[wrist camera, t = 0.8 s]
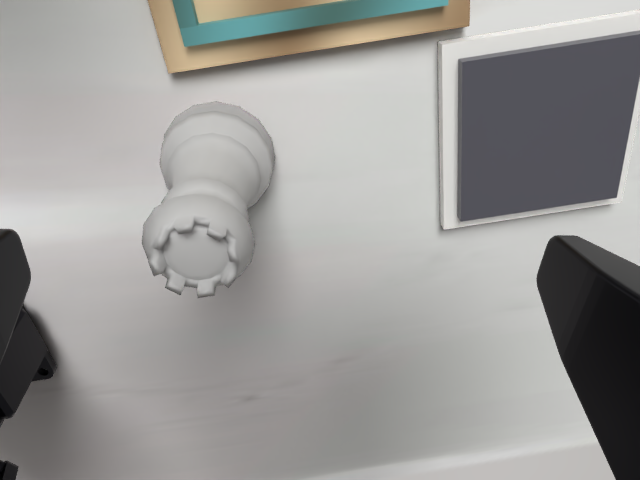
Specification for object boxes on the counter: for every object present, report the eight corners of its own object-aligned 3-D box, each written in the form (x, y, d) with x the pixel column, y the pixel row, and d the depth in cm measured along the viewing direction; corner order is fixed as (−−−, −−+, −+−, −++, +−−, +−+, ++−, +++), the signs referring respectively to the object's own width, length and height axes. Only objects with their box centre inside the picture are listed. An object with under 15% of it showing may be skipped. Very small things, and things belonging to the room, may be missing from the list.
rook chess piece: (297, 153, 22) (308, 262, 15) (223, 219, 23) (201, 346, 16) (216, 73, 20) (186, 156, 13) (141, 149, 21) (76, 261, 14)
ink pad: (440, 222, 24) (446, 235, 23) (437, 41, 20) (445, 47, 19) (614, 196, 24) (628, 207, 23) (649, 7, 20) (668, 12, 19)
